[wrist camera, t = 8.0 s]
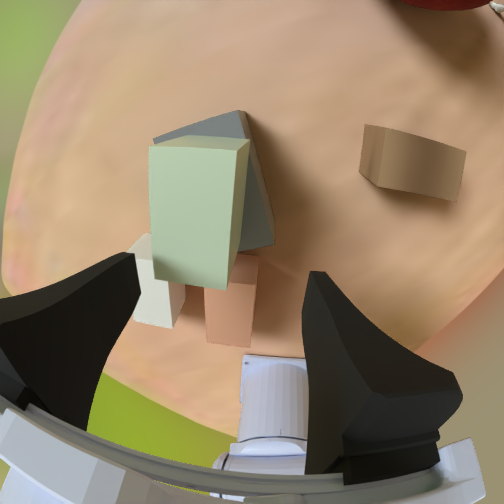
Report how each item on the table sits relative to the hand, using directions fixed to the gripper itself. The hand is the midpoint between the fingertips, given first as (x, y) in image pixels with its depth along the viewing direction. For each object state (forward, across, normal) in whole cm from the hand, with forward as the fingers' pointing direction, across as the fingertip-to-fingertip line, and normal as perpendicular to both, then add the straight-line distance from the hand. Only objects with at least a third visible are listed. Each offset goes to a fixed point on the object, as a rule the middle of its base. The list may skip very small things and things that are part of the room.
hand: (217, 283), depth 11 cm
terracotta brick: (+10, 0, +7) cm, 12 cm away
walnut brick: (+10, -11, -5) cm, 15 cm away
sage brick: (+6, +1, -2) cm, 6 cm away
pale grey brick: (+10, +6, +6) cm, 13 cm away
